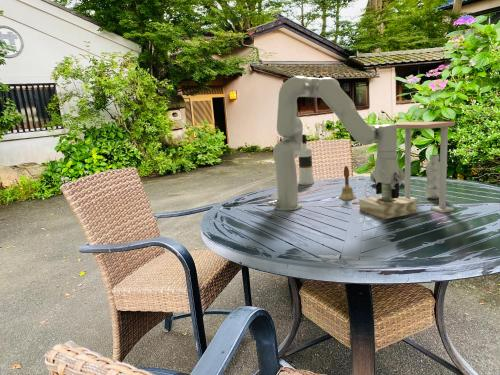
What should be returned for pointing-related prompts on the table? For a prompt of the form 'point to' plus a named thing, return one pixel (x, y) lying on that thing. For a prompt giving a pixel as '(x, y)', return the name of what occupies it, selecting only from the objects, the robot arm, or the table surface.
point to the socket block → (388, 207)
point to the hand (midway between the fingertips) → (387, 195)
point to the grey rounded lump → (399, 175)
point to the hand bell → (347, 187)
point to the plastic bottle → (433, 177)
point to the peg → (386, 192)
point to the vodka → (305, 164)
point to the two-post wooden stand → (443, 159)
